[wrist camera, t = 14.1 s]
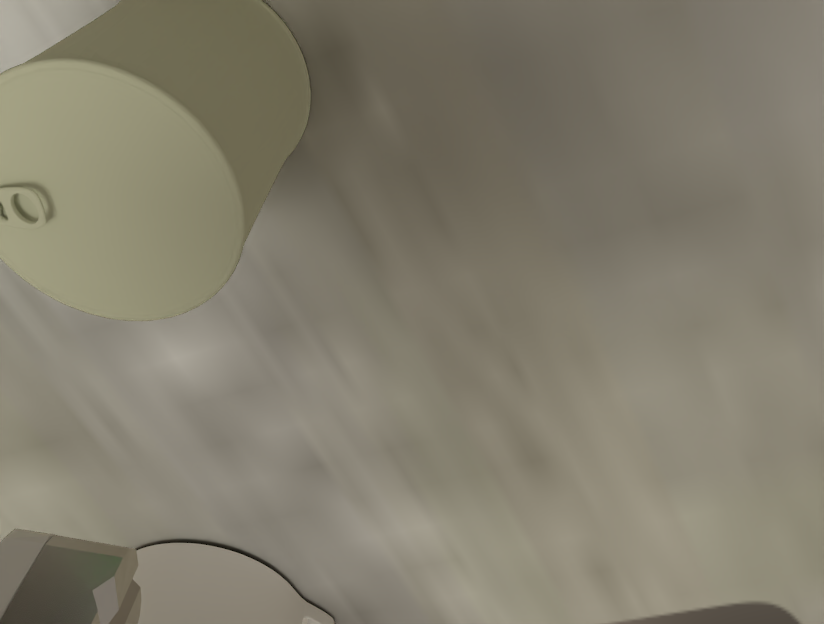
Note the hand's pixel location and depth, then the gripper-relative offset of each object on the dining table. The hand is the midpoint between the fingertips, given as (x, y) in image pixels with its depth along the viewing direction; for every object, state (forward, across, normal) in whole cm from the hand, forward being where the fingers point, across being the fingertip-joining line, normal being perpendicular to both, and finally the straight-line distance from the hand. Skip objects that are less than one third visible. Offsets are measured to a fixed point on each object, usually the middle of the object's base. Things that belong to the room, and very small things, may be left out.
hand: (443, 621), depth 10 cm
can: (+27, +11, +3) cm, 29 cm away
